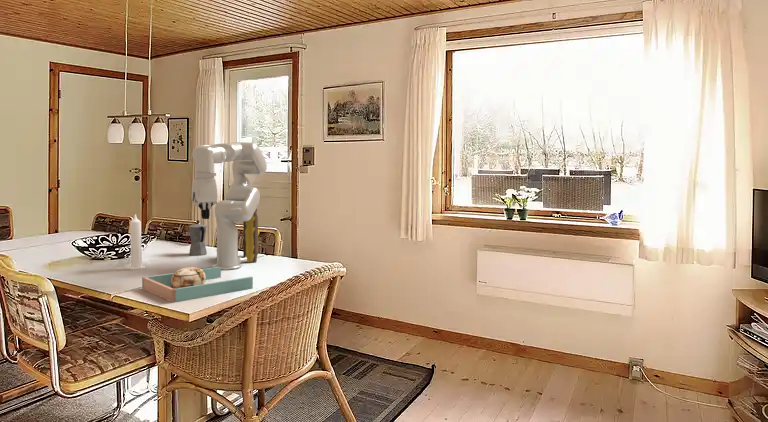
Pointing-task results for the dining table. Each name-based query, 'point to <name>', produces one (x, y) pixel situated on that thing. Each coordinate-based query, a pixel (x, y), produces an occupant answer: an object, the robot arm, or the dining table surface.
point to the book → (250, 239)
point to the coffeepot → (197, 239)
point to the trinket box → (188, 277)
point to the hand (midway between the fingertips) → (205, 218)
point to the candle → (135, 245)
